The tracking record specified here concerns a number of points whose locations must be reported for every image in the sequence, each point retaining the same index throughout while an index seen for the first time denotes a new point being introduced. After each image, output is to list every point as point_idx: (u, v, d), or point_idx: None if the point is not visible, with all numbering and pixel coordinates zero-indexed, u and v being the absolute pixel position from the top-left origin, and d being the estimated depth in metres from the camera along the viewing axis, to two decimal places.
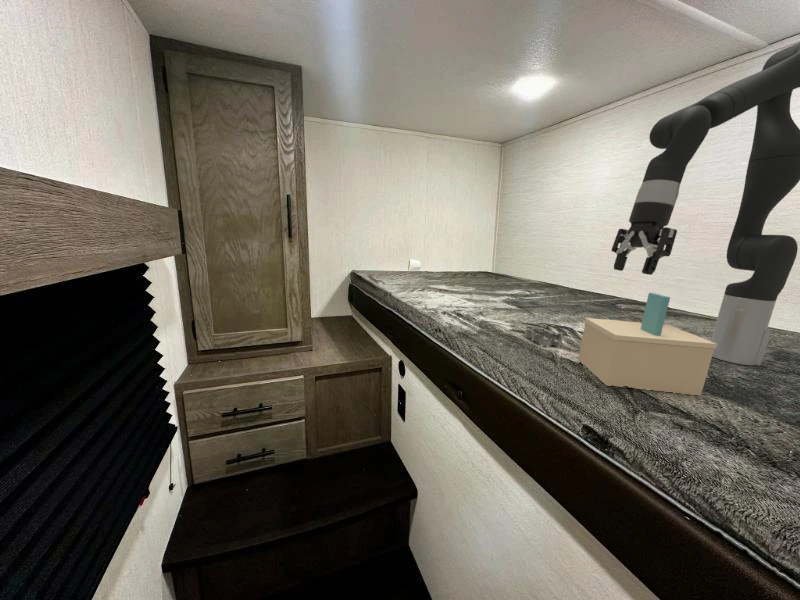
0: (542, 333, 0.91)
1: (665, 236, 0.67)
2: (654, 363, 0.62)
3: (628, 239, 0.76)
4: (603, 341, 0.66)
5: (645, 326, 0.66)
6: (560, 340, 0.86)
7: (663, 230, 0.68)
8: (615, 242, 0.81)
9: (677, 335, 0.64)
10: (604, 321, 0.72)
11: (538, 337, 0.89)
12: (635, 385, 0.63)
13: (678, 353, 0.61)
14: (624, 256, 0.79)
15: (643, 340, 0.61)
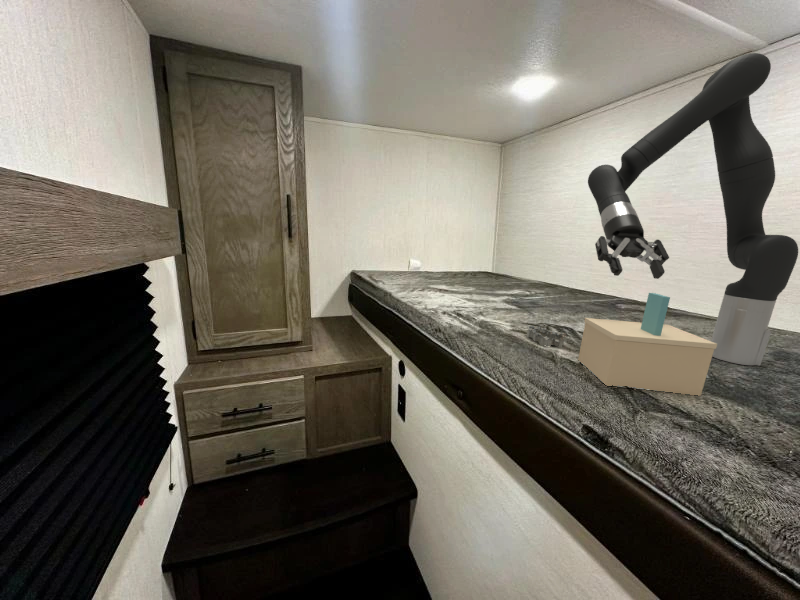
0: (544, 333, 0.91)
1: (596, 248, 0.76)
2: (654, 363, 0.62)
3: None
4: (603, 341, 0.66)
5: (645, 326, 0.66)
6: (561, 340, 0.86)
7: None
8: None
9: (677, 335, 0.64)
10: (604, 321, 0.72)
11: (539, 337, 0.89)
12: (635, 385, 0.63)
13: (678, 353, 0.61)
14: (653, 263, 0.71)
15: (643, 340, 0.61)
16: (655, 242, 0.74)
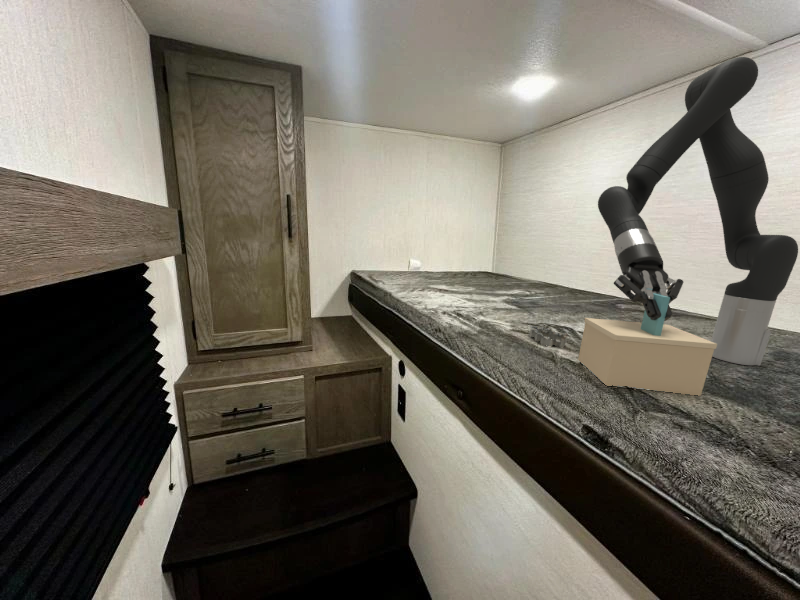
0: (546, 333, 0.91)
1: (620, 288, 0.68)
2: (654, 363, 0.62)
3: None
4: (603, 341, 0.66)
5: (645, 326, 0.66)
6: (562, 340, 0.86)
7: None
8: None
9: (677, 335, 0.64)
10: (604, 321, 0.72)
11: (541, 337, 0.89)
12: (635, 385, 0.63)
13: (678, 353, 0.61)
14: None
15: (643, 340, 0.61)
16: (676, 281, 0.66)
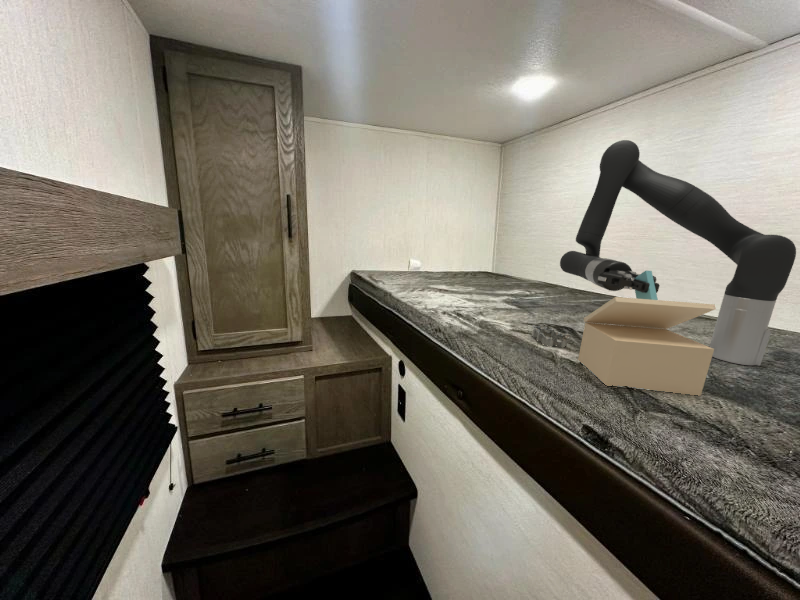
0: (549, 333, 0.91)
1: (604, 284, 0.74)
2: (654, 363, 0.62)
3: None
4: (603, 341, 0.66)
5: None
6: (564, 341, 0.86)
7: None
8: None
9: None
10: None
11: (543, 337, 0.90)
12: (635, 385, 0.63)
13: (678, 353, 0.61)
14: None
15: (643, 301, 0.62)
16: None
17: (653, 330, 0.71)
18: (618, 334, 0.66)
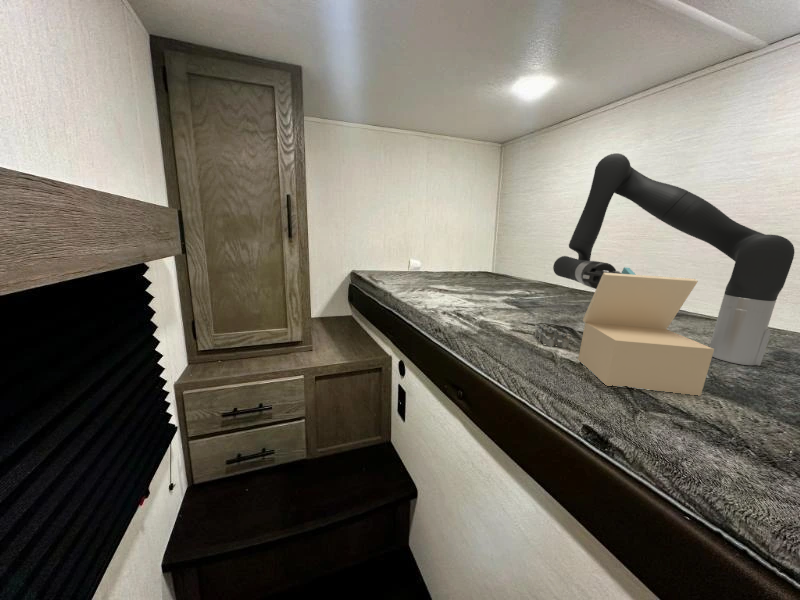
0: (551, 333, 0.91)
1: (587, 281, 0.81)
2: (654, 363, 0.62)
3: None
4: (603, 341, 0.66)
5: None
6: (565, 341, 0.86)
7: (585, 281, 0.83)
8: None
9: None
10: None
11: None
12: (635, 385, 0.63)
13: (678, 353, 0.61)
14: None
15: (630, 275, 0.67)
16: None
17: (653, 330, 0.71)
18: (618, 334, 0.66)
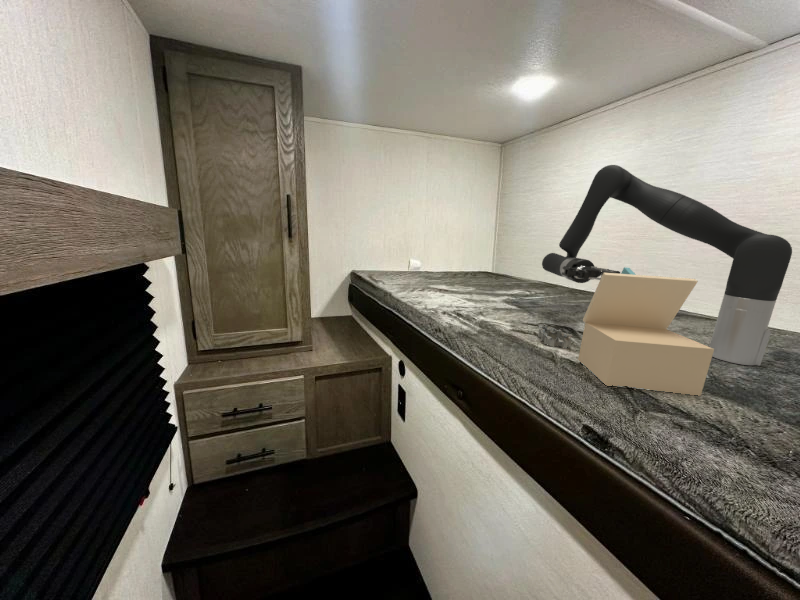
0: (554, 334, 0.91)
1: (563, 274, 0.95)
2: (654, 363, 0.62)
3: None
4: (603, 341, 0.66)
5: None
6: (566, 341, 0.85)
7: None
8: None
9: None
10: None
11: None
12: (635, 385, 0.63)
13: (678, 353, 0.61)
14: None
15: (630, 275, 0.67)
16: None
17: (653, 330, 0.71)
18: (618, 334, 0.66)
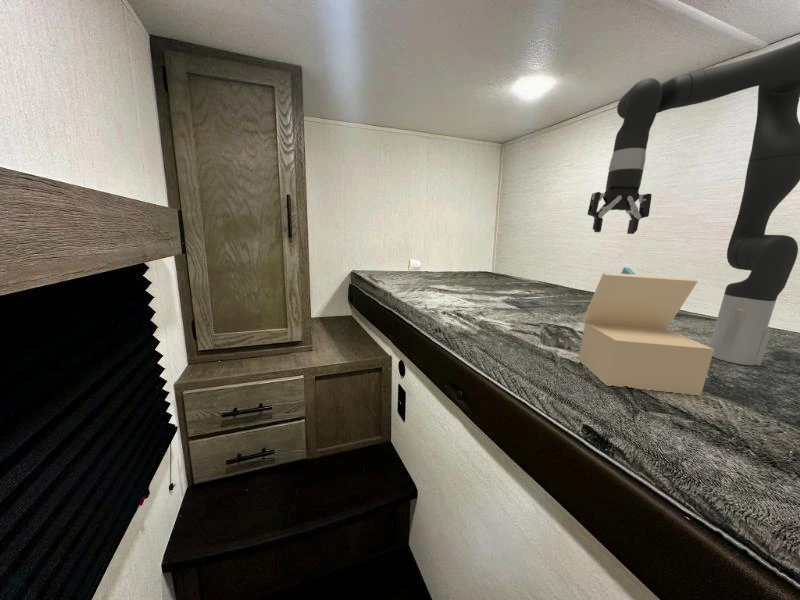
0: (555, 334, 0.91)
1: None
2: (654, 363, 0.62)
3: None
4: (603, 341, 0.66)
5: None
6: (567, 341, 0.85)
7: None
8: None
9: None
10: None
11: None
12: (635, 385, 0.63)
13: (678, 353, 0.61)
14: (632, 220, 0.84)
15: (630, 275, 0.67)
16: (646, 196, 0.82)
17: (653, 330, 0.71)
18: (618, 334, 0.66)
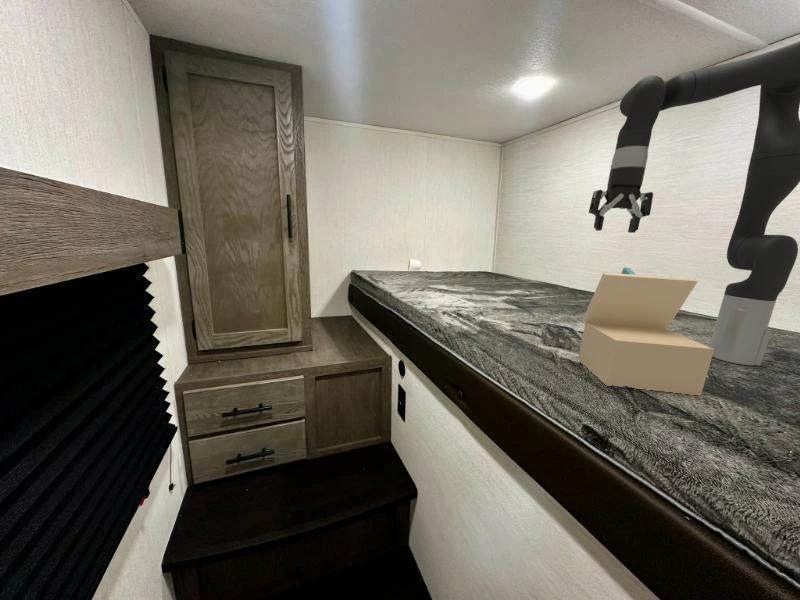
0: (556, 334, 0.91)
1: None
2: (654, 363, 0.62)
3: None
4: (603, 341, 0.66)
5: None
6: (567, 341, 0.85)
7: None
8: None
9: None
10: None
11: None
12: (635, 385, 0.63)
13: (678, 353, 0.61)
14: (634, 218, 0.83)
15: (630, 275, 0.67)
16: (647, 195, 0.81)
17: (653, 330, 0.71)
18: (618, 334, 0.66)
